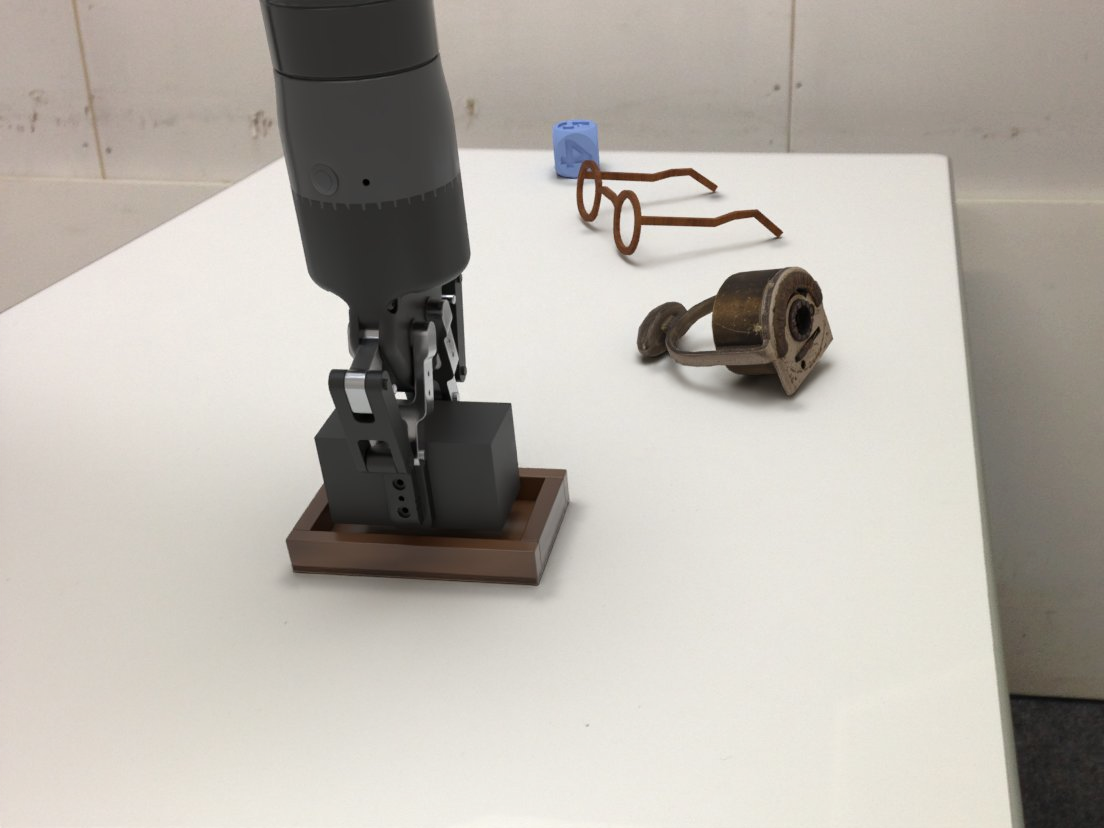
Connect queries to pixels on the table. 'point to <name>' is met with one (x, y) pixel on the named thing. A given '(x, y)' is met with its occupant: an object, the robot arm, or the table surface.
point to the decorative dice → (574, 146)
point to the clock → (434, 469)
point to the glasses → (633, 198)
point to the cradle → (438, 540)
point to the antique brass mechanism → (749, 326)
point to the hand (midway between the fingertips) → (428, 497)
